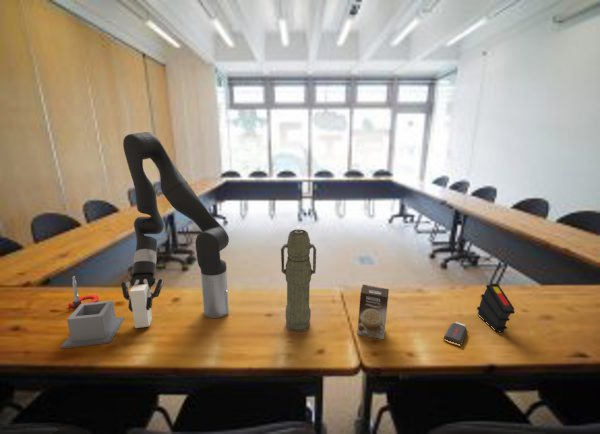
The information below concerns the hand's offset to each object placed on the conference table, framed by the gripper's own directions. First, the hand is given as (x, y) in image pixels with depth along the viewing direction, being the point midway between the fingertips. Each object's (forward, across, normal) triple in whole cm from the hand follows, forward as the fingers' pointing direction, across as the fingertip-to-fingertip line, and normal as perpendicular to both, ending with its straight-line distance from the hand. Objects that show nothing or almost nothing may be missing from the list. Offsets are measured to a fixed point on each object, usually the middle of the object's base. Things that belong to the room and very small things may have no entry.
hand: (140, 309), depth 107 cm
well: (+5, -15, +6) cm, 17 cm away
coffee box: (+18, +78, -7) cm, 80 cm away
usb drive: (+24, +106, -12) cm, 109 cm away
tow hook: (-12, -27, +22) cm, 37 cm away
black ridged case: (+22, +123, -10) cm, 125 cm away
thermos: (+11, +54, 0) cm, 55 cm away
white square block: (+3, 0, +6) cm, 7 cm away
